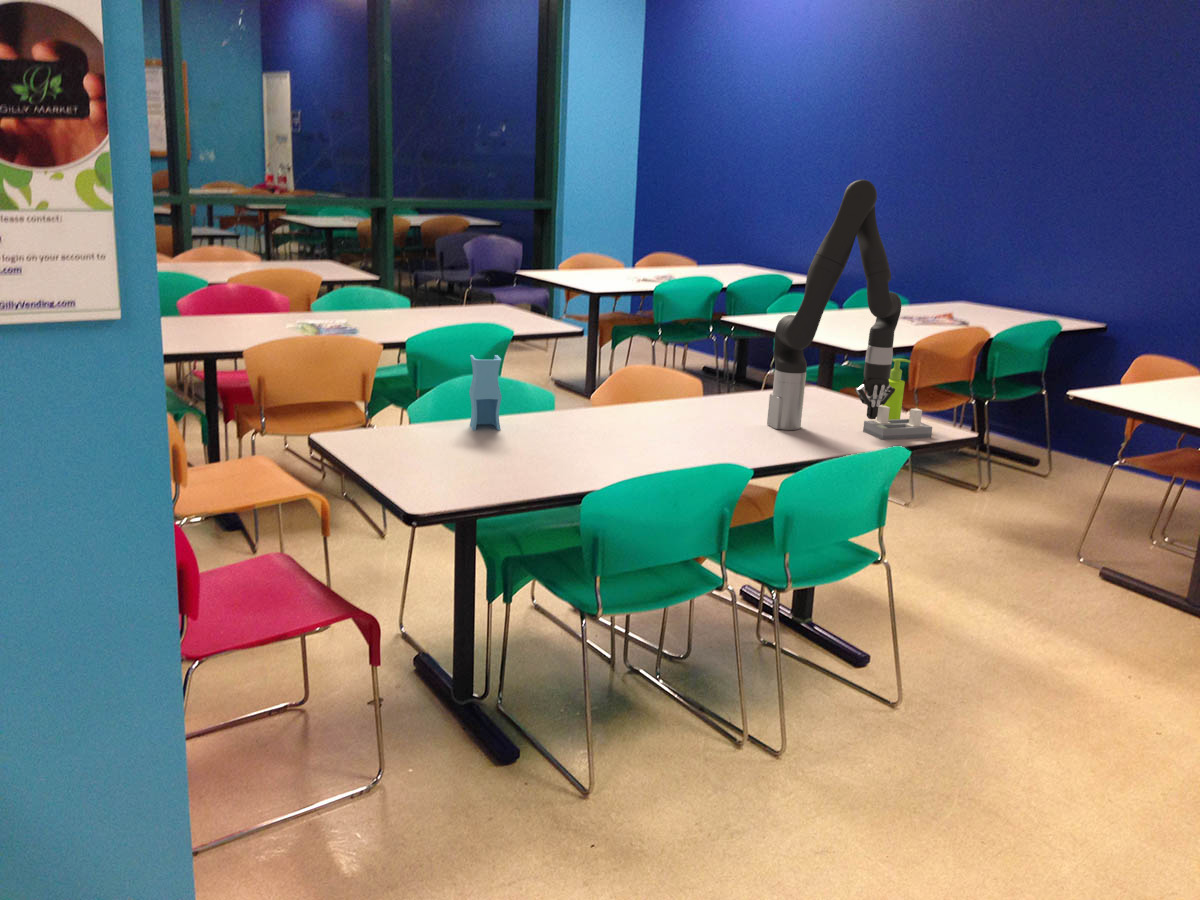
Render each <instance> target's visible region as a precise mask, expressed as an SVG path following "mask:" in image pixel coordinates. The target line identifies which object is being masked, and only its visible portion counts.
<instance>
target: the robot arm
mask: <svg viewBox="0 0 1200 900" xmlns="http://www.w3.org/2000/svg"><path fill="white" fill-rule="evenodd" d="M843 193H844V194H843V196H842V201H841V203H840V206H839V209H838V211H837V214H836V216H835V219H834V220H833V223H832V225H831V227H830V228H829V230H828V231H827V233H826V234H825V236H824V237H823V240H822V241H821V243H820V245H819V247H818V249H817V251H816V252H815V255H814V257H813V259H812V260H811V264H810V265H809V268H808V271H807V273H806V274H807V275H806V278H805V279H806V280H805V288H804V294H803V297H802V301H801V304H800V306H799V308H798V310H797V312H796V314H795V315H794V314H788V315H785V316H783V317H782V318H780V320H779V321H778V323H777V325H776V328H775V332H774V344H773V345H774V347H773V359H774V366H775V367H774V376H773V384H772V385H773V386H772V393H770V394H769V399H768V410H767V421H766V426H767V425H768V426H770V427H771V428H773V429H775V430H783V431H795V430H799V429H801V427H802V416H803V408H804V407H803V406H804V396H805V389H806V388H805V387H806V381H807V379H806V378H807V369H808V364H807V360H806V358H805V355H804V349H806V348H808V347H809V346H810V345H811V343H812V342H813V340H814V338H815V336H816V333H817V331H818V328H819V325H820V323H821V320H822V317H823V314H824V311H825V309H826V306H827V305H828V303H829V301H830V299H831V296H832V295H833V292H834V290H835V288H836V286H837V284H838V282H839V280H840V278H841V276H842V275H843V272H844V270H845V268H846V266H847V264H848V261H849V259H850V256H851V252H852V249H853V247H854V243H855V241H856V238H857V242H858V248H859V252H860V257H861V263H862V267H863V272H864V276H865V279H866V297H867V301H866V302H867V305H868V310H869V311H870V313H871V314H872V315H873V316H874V317H875V318H876V319H875V323H874V324H873V325H872V326H871V327H870V329H869V334H868V342H867V348H866V352H865V359H864V362H865V363H864V369H863V377H864V378H863V381H862V384H861V385H860V386H859V387H855V389H854V391H855V393H856V395H857V396H858V398H859V400H860V402H861V403H862V404H864V405H866V406H867V408H866V417H867V419H869V420H877V415H878V407H879V406H882V405H884V404H885V403H886V402H887V400H888V399H889V398H890V397H891V395H892V394H893V393H894V391H895V388H892V387H891V386H890V385H889V379H890V373H891V369H892V363H893V361H892V360H893V355H894V351H893V349H894V348H893V347H894V342H895V341H894V339H895V331H896V328H897V326H898V322H899V319H900V316H901V313H902V312H901V311H902V300H901V298H900V296H899V295H898V294H897V292H893V291H890V287H889V283H890V281H891V280H892V273H891V269H890V265H889V261H888V256H887V253H886V250H885V246H884V243H883V241H882V238H881V234H880V232H879V227H878V223H877V216H876V203H877V200H878V193H877V189H876V187H875V185H874V184H873V182H871V181H869V180H867V179H857V180H854V181H853V182H851V183H850V184H848V186H847V187H846V189H845V190H844V192H843Z"/></svg>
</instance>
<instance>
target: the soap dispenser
mask: <svg viewBox="0 0 1200 900" xmlns="http://www.w3.org/2000/svg"><path fill="white" fill-rule="evenodd" d="M892 362H893V363H894V365H893V368H891V373H890V377H889V385H890V386H891V387H892V388H895V391H894V393H893V394H892V395H891V397H890V398H889V399H888V400H887V402H886V403H885V404H884V405H881V406H887V407H890V410H889V418H888V420H895V419H901V414H902V408H903V407H902V406H903V399H904V393H905V392H904V391H905V385H906V384H905V383H906V382H905V381H904V380H902V375H903V374H902V373H903V370H902V369H901V368H900V367H901V362H903V363H909V364H910V363H912V361H911V360H909V359H906V358H892Z"/></svg>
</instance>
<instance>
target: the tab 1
mask: <svg viewBox="0 0 1200 900" xmlns="http://www.w3.org/2000/svg"><path fill="white" fill-rule="evenodd" d="M889 410H890V407H887V406H882V405H880V406H879V407H878V415H877V417H876V419H875V420H876V421H873V420H872V421H873V422H875V423H877V424H891V423H890V422H888V418H889Z"/></svg>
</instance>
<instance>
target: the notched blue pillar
mask: <svg viewBox="0 0 1200 900" xmlns="http://www.w3.org/2000/svg"><path fill="white" fill-rule="evenodd" d="M469 357H470V360H471V366H472V379H471V384H470V387H469V397H470V402H471V403H470V404H471V417H470V422H469V426H470V428H471V430H472V431H473V432H474V431H476V430H477V425H492V426H494V427H495V428H496V431H501V430H502V429H501V424H500V406H501V403H502V399H503V398H502V392H501V389H500V385H499V372H500V367H501V366H500V365H501V362H502V358H501V357H500V356H499V355H498V354H494V358H493V359H478V358H475V356H474V355H473V354H470V355H469Z"/></svg>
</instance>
